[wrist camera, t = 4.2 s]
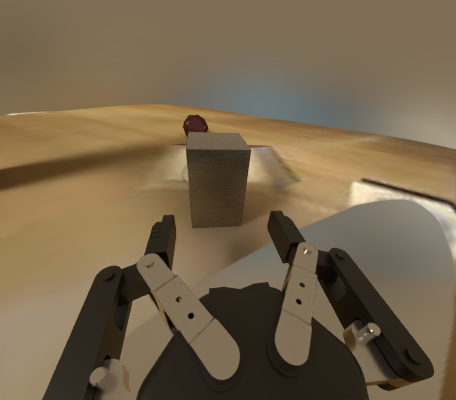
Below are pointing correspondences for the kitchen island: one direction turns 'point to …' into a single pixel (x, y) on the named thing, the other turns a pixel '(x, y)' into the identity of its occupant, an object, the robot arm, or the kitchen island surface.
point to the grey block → (217, 178)
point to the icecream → (194, 124)
